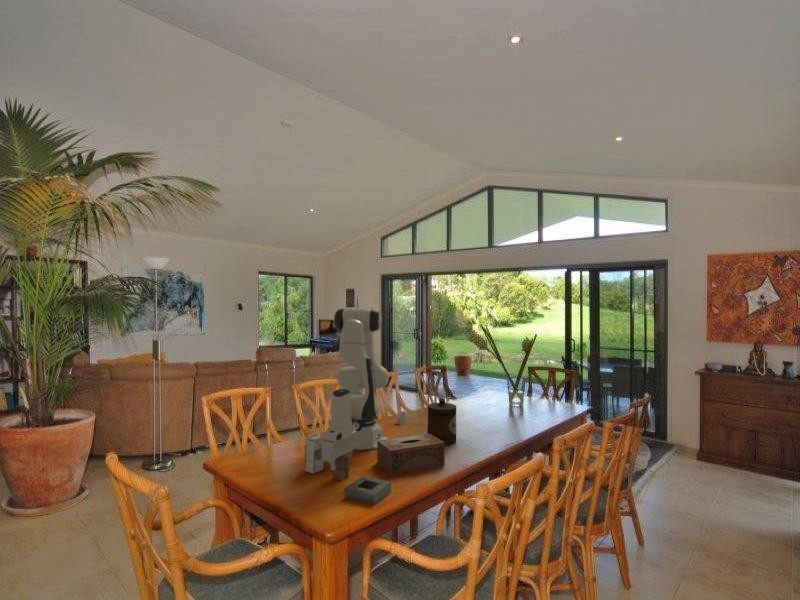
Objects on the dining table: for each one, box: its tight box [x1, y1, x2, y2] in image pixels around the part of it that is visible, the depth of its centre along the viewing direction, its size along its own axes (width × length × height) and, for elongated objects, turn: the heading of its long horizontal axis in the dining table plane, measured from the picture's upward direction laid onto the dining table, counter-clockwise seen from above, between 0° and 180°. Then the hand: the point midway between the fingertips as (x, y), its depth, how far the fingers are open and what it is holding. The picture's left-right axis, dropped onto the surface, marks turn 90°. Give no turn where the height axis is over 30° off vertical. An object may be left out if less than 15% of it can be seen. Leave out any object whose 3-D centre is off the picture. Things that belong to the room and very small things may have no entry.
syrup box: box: [304, 433, 325, 474], centre depth 180 cm, size 6×6×14 cm
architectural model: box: [395, 410, 407, 426], centre depth 254 cm, size 3×7×7 cm, turn 146°
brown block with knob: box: [332, 454, 350, 482], centre depth 172 cm, size 5×5×9 cm
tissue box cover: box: [376, 433, 446, 475], centre depth 188 cm, size 26×14×10 cm, turn 115°
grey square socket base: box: [344, 475, 392, 506], centre depth 157 cm, size 12×12×4 cm
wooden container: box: [426, 397, 457, 447], centre depth 220 cm, size 15×15×22 cm
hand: (340, 465), depth 172 cm, fingers open, 8 cm apart
